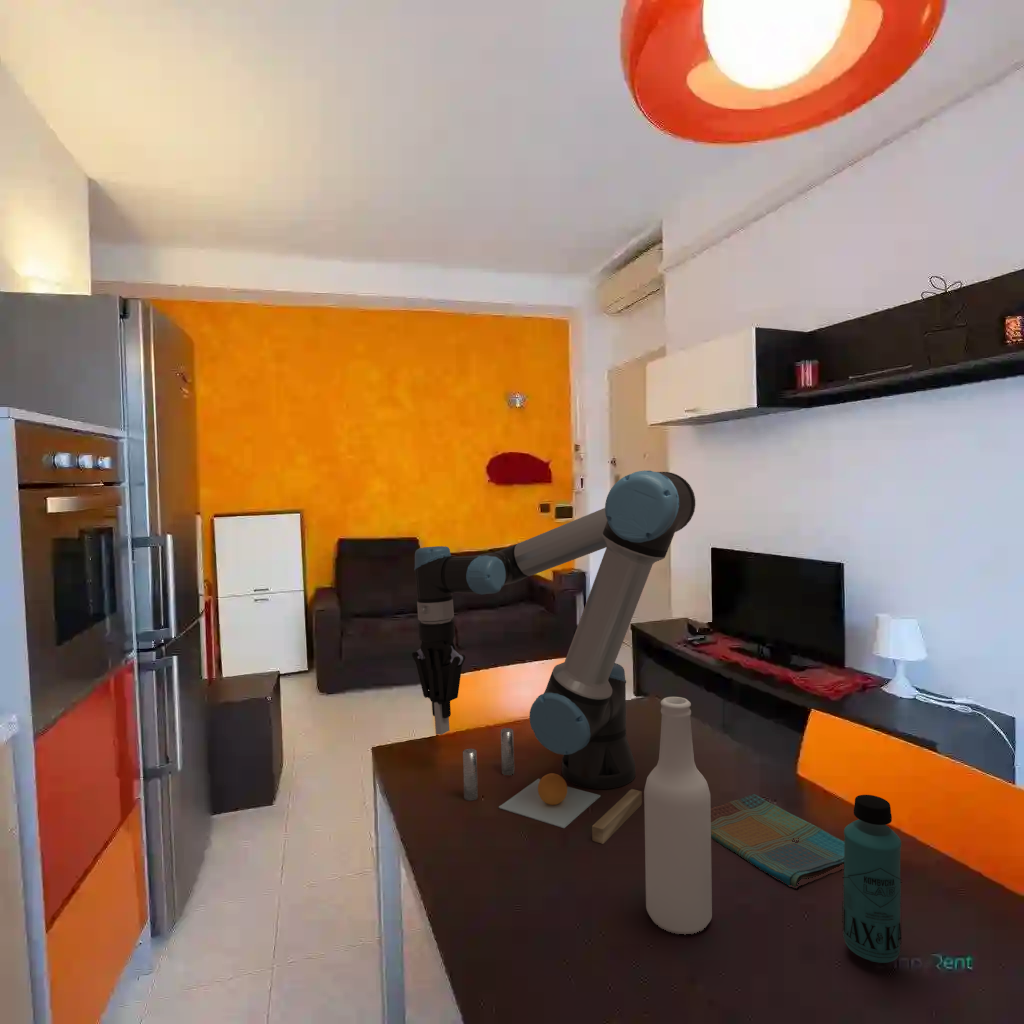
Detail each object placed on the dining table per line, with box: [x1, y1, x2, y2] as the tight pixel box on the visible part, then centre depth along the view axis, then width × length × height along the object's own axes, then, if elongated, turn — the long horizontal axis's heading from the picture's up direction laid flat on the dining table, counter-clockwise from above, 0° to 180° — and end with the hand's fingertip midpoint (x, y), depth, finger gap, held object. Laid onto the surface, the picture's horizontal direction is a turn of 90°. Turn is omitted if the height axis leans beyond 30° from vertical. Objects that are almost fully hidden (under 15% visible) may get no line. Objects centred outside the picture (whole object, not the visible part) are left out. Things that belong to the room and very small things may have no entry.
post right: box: [500, 728, 515, 776], centre depth 138 cm, size 3×3×9 cm
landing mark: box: [498, 778, 601, 829], centre depth 125 cm, size 14×14×1 cm
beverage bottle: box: [841, 794, 903, 964], centre depth 82 cm, size 6×7×20 cm
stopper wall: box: [591, 788, 643, 845], centre depth 117 cm, size 2×16×2 cm, turn 146°
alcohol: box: [643, 696, 713, 936], centre depth 91 cm, size 9×9×30 cm
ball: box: [538, 772, 568, 805], centre depth 124 cm, size 6×6×6 cm
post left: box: [462, 748, 479, 801], centre depth 128 cm, size 3×3×9 cm
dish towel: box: [711, 793, 845, 887], centre depth 110 cm, size 17×23×2 cm
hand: (442, 732), depth 140 cm, fingers closed
